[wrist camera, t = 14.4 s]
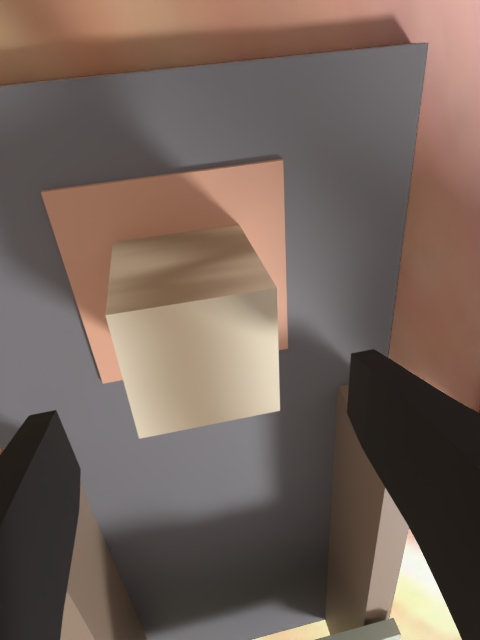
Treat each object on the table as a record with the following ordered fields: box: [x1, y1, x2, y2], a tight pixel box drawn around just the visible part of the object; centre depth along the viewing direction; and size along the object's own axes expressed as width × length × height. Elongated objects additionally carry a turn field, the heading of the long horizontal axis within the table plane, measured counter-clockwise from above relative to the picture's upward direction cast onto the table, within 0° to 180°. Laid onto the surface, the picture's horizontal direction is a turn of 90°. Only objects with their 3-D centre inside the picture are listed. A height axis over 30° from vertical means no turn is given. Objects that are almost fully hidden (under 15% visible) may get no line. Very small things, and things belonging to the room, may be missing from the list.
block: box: [105, 225, 280, 439], centre depth 15 cm, size 4×4×5 cm
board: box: [0, 43, 428, 640], centre depth 22 cm, size 18×38×6 cm, turn 5°
